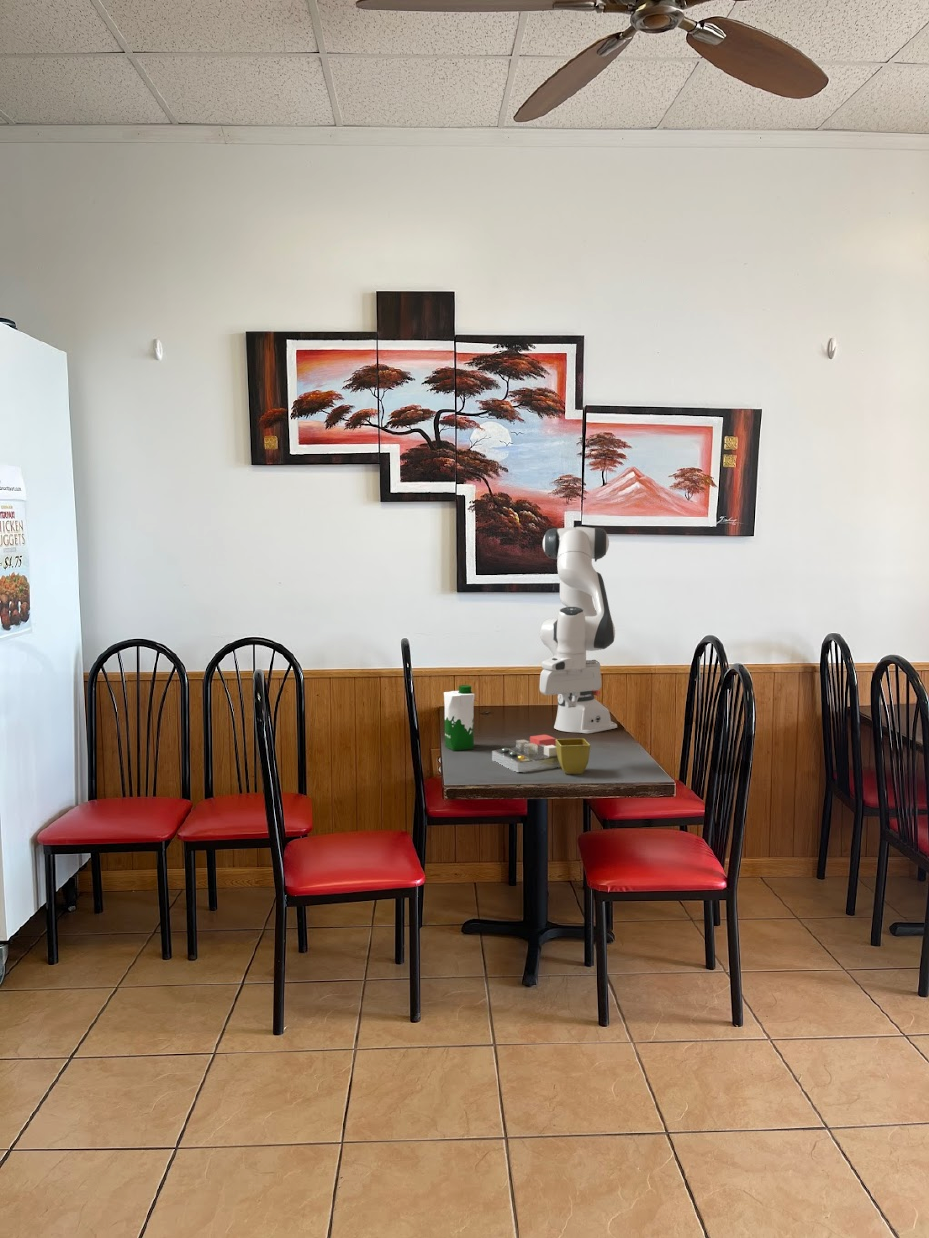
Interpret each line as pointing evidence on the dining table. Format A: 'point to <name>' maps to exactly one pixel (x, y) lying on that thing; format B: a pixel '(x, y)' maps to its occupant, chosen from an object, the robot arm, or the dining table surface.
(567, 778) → the dining table surface
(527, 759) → the breaker panel
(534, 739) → the cap
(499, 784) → the dining table surface
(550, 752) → the breaker toggle
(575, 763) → the flower pot
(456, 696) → the milk carton
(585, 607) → the robot arm
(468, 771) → the dining table surface
